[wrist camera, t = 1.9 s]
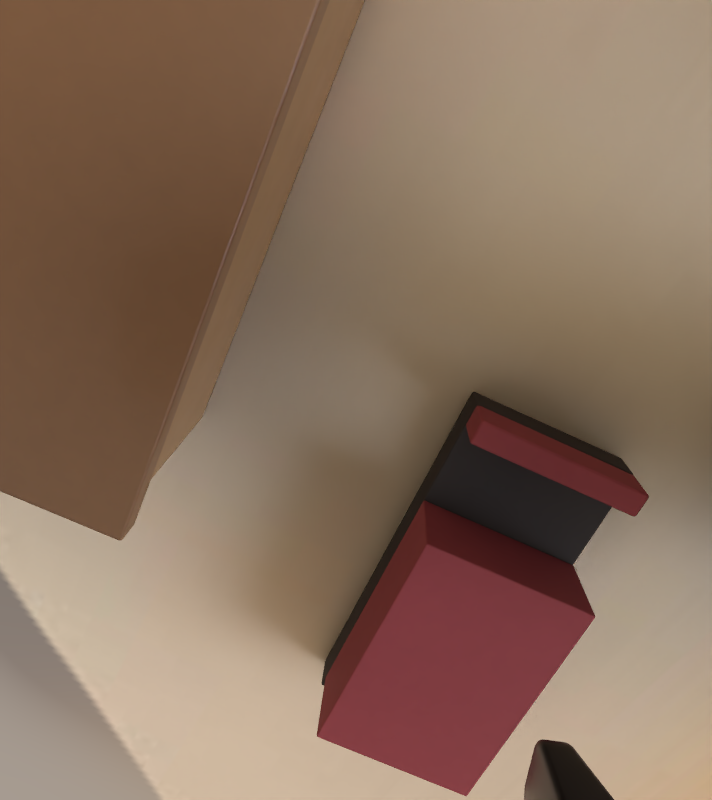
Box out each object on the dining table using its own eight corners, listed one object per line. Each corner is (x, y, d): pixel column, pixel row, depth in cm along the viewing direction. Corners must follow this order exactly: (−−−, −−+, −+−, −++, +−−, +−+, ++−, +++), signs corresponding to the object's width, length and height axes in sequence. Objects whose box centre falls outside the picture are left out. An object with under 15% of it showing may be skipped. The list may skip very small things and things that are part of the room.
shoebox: (417, -101, 16) (428, -289, 10) (207, 429, 21) (121, 542, 15) (81, -275, 15) (-156, -605, 9) (-51, 317, 21) (-261, 384, 14)
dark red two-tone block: (621, 458, 21) (667, 517, 17) (452, 713, 25) (461, 804, 21) (473, 390, 20) (487, 437, 17) (324, 661, 24) (311, 745, 21)
